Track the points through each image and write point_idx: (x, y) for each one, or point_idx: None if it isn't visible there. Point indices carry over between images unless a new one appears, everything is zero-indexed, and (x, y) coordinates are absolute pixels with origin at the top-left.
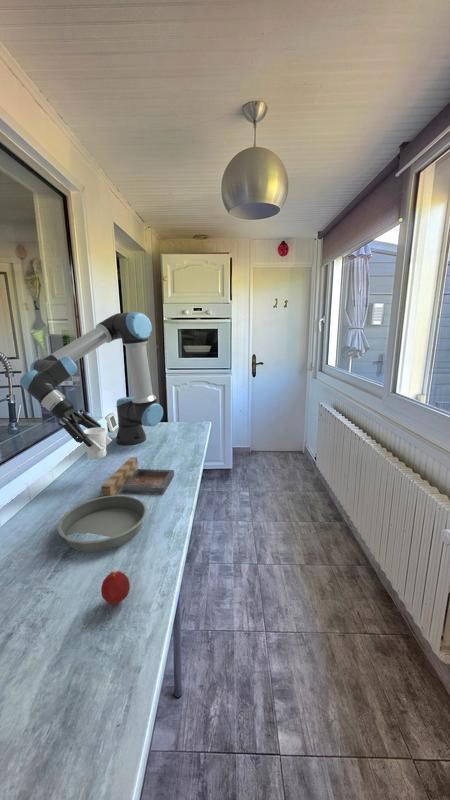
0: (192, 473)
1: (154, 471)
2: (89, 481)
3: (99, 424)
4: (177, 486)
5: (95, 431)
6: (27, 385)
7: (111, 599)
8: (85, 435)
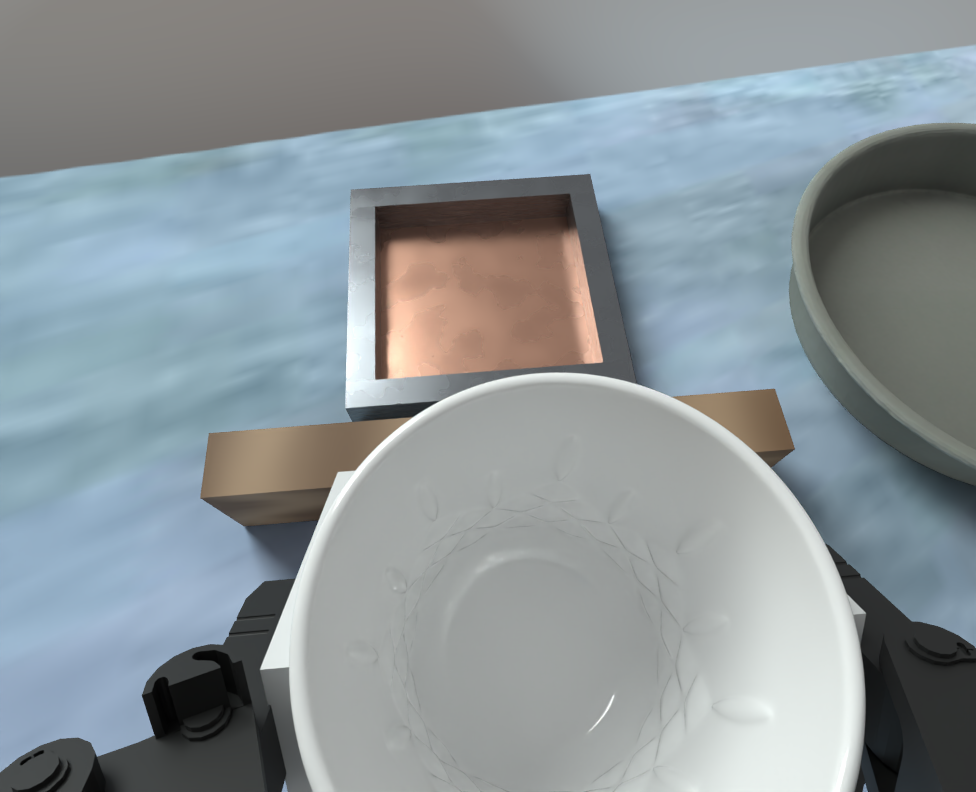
0: (322, 147)
1: (375, 288)
2: None
3: (30, 779)
4: (488, 171)
5: (356, 741)
6: None
7: None
8: (909, 662)
